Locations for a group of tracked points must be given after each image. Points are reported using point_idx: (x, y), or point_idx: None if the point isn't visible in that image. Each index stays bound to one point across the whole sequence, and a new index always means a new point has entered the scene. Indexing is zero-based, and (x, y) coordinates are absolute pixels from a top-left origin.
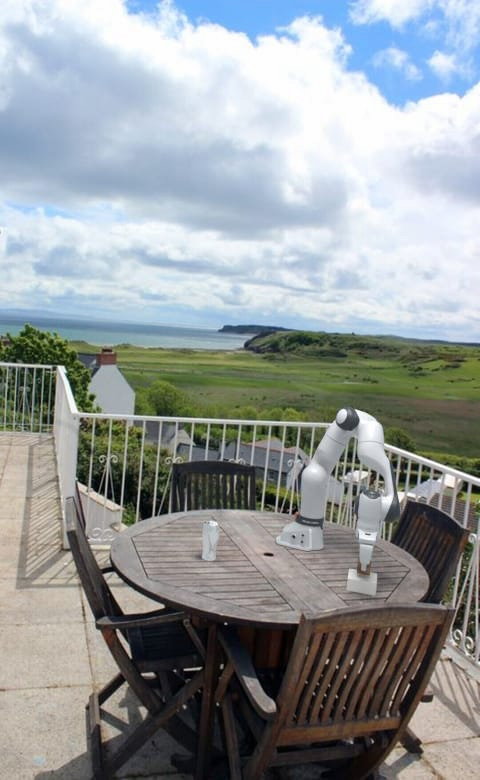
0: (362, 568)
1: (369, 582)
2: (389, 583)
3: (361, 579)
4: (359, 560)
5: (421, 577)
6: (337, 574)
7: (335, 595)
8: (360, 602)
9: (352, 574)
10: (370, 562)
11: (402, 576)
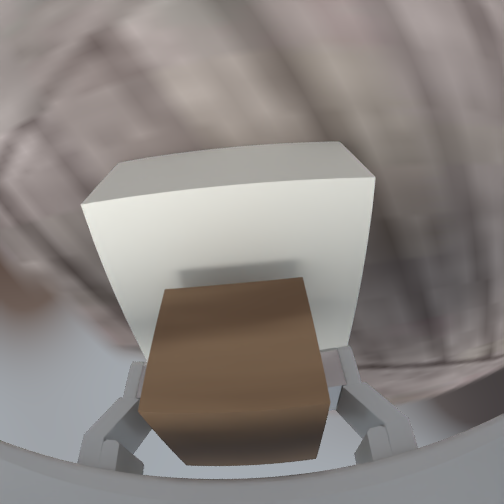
0: (133, 381)
1: (139, 345)
2: (371, 345)
3: (149, 303)
4: (166, 420)
5: (445, 390)
6: (407, 59)
7: (6, 129)
8: (32, 264)
9: (212, 227)
10: (195, 463)
11: (450, 359)
